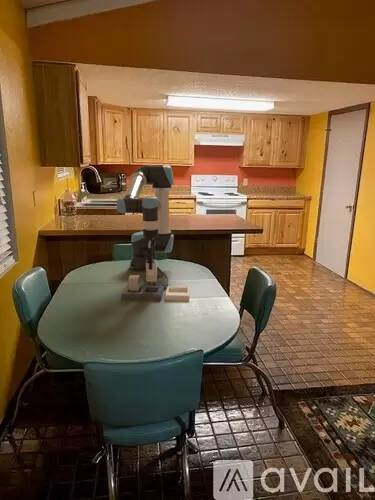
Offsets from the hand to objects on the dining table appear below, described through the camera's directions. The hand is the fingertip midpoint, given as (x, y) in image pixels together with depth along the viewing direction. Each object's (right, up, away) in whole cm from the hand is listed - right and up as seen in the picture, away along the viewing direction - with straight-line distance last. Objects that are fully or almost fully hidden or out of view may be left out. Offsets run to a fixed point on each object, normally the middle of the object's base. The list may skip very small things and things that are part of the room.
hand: (151, 273), depth 174 cm
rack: (-5, -12, +3) cm, 13 cm away
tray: (+13, -12, +3) cm, 18 cm away
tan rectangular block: (0, -4, +1) cm, 4 cm away
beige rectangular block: (-9, -12, +3) cm, 15 cm away
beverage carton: (+1, -7, +21) cm, 23 cm away
